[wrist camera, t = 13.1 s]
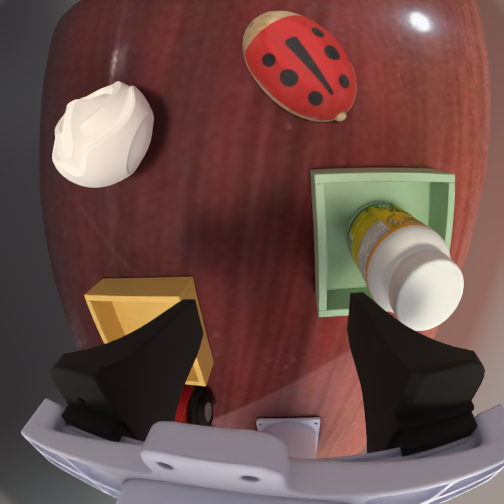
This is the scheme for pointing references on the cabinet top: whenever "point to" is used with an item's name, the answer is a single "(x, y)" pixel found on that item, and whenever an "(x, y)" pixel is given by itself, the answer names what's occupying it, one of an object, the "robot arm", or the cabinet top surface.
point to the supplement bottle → (404, 265)
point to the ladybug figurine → (300, 66)
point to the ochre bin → (145, 311)
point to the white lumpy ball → (103, 136)
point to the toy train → (194, 407)
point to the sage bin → (355, 197)
